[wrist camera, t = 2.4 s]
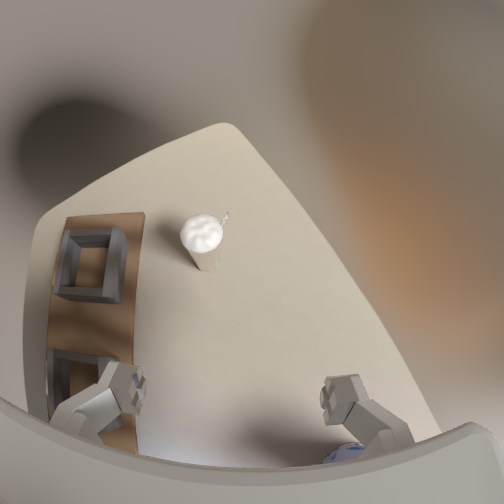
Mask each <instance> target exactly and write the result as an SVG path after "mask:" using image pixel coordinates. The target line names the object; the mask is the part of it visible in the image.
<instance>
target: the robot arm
mask: <svg viewBox="0 0 504 504" xmlns="http://www.w3.org/2000/svg"><path fill="white" fill-rule="evenodd" d="M142 374H143V369H142V367H141V366H136V365H132V364H127V363H122V362H118V361H113V360H111V361H110V362H109V363H108V364H107V366H106V368H105V370H104V372H103V374H102V376H101V378H100V380H99V382H98V384H93V385H91V386H90V387H88V388H86V389H85V390H83V391H81V392H79V393H78V394H76V395H74V396H72V397H71V398H69V399H67V400H65V401H64V402H62V403H60V404H59V405H58V407H57V409H56V410H55V412H54V414H53V416H52V418H51V420H50V422H49V423H47V422H45V421H43V420H41V419H39V418H37V417H35V416H33V415H31V414H29V413H27V412H25V411H24V410H21V409H20V408H18V407H16V406H15V405H13V404H11V403H10V402H8V401H6V400H5V399H3V398H1V397H0V504H504V455H503V453H502V450H501V448H500V446H499V444H498V442H497V440H496V438H495V436H494V435H493V434H492V432H491V431H489V430H488V429H486V428H484V427H482V426H480V425H479V424H476V423H474V422H468V423H465V424H463V425H461V426H458V427H456V428H454V429H452V430H449V431H447V432H445V433H442V434H439V435H437V436H434V437H432V438H429V439H426V440H423V441H420V442H417V443H415V441H414V439H413V436H412V434H411V432H410V429H409V427H408V425H407V423H405V422H404V421H402V420H401V419H400V418H398V417H397V416H395V415H394V414H392V413H391V412H390V411H388V410H387V409H385V408H384V407H383V406H381V405H380V404H378V403H377V402H376V401H374V400H373V399H369V397H368V394H367V392H366V390H365V387H364V385H363V382H362V380H361V378H360V375H358V374H353V375H341V376H328V377H326V379H325V381H324V383H325V386H324V387H323V388H322V389H321V392H320V404H321V407H322V408H323V409H324V410H325V411H324V413H323V417H324V421H325V425H326V426H327V425H339V424H343V426H344V427H345V428H346V429H347V430H348V431H349V432H350V433H351V434H352V435H353V436H354V437H355V438H356V439H357V440H358V441H359V442H360V443H361V444H362V445H363V446H364V447H365V450H364V451H363V452H362V453H361V454H360V456H359V457H358V458H357V459H352V460H347V461H341V462H334V463H327V464H319V465H310V466H299V467H284V468H232V467H217V466H205V465H196V464H189V463H181V462H175V461H169V460H164V459H158V458H153V457H149V456H144V455H140V454H136V453H132V452H128V451H124V450H120V449H117V448H113V447H110V446H107V445H104V443H103V441H102V440H101V438H100V437H99V436H98V434H97V433H98V432H99V431H101V430H102V429H103V428H104V427H105V426H107V425H108V424H109V423H110V422H111V421H113V420H114V419H115V418H116V417H117V416H118V415H120V414H121V412H124V413H129V414H134V415H139V412H140V409H141V406H142V403H141V399H142V398H144V397H145V394H146V388H147V385H146V379H145V378H144V377H143V376H142Z"/></svg>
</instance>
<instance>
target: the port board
mask: <svg viewBox="0 0 504 504" xmlns="http://www.w3.org/2000/svg"><path fill="white" fill-rule="evenodd" d="M144 221H145V214H144V212H139V213H120V214H104V215H89V216H76V217H67V221H66V224H65V228H64V232H63V236H62V240H61V244H60V249H59V253H58V254H57V259H56V264H55V269H54V274H53V280H52V293H51V300H50V308H49V318H48V330H47V349H46V360H45V384H46V395H47V404H48V416H49V422H50V420H51V418H52V416H53V414H54V412H55V410H56V409H57V407H58V405H59V404H60V403H62V402H64V401H65V400H67V399H69V398H71V397H72V396H74V395H76V394H78V393H79V392H81V391H83V390H85V389H86V388H88V387H90V386H91V385H93V384H98V382H99V380H100V378H101V376H102V374H103V372H104V370H105V368H106V366H107V364H108V363H109V362H110V361H111V360H113V361H118V362H122V363H127V364H132V365H133V336H134V314H135V298H136V286H137V275H138V266H139V257H140V249H141V242H142V234H143V228H144ZM97 434H98V436H99V437H100V438H101V440H102V441H103V443H104V445H107V446H110V447H113V448H117V449H120V450H124V451H128V452H132V453H136V454H138V447H137V437H136V426H135V415H134V414H129V413H124V412H121V414H120V415H118V416H117V417H116V418H115V419H114V420H113V421H111V422H110V423H109V424H108V425H107V426H105V427H104V428H103V429H102V430H101V431H99V432H98V433H97Z"/></svg>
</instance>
